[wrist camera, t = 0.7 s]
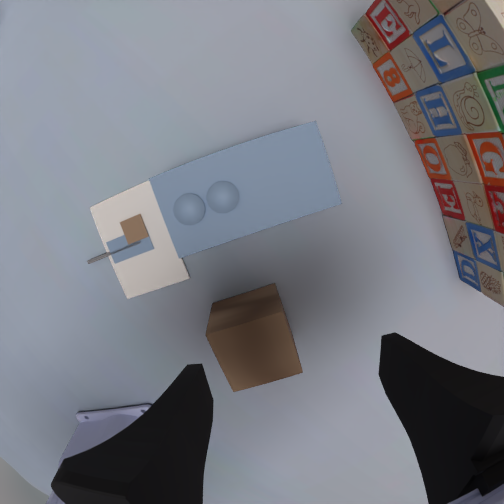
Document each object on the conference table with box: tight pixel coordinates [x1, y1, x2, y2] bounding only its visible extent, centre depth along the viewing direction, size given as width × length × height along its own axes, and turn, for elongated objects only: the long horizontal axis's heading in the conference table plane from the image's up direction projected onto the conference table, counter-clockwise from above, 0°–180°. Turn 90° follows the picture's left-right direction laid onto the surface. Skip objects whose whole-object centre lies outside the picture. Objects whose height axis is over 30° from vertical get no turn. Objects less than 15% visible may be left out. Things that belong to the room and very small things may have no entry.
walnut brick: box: [206, 283, 303, 392], centre depth 19 cm, size 4×4×4 cm
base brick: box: [149, 121, 342, 259], centre depth 17 cm, size 9×4×4 cm, turn 109°
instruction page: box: [87, 181, 190, 299], centre depth 20 cm, size 7×7×1 cm
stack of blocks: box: [351, 0, 504, 307], centre depth 13 cm, size 21×6×12 cm, turn 30°
